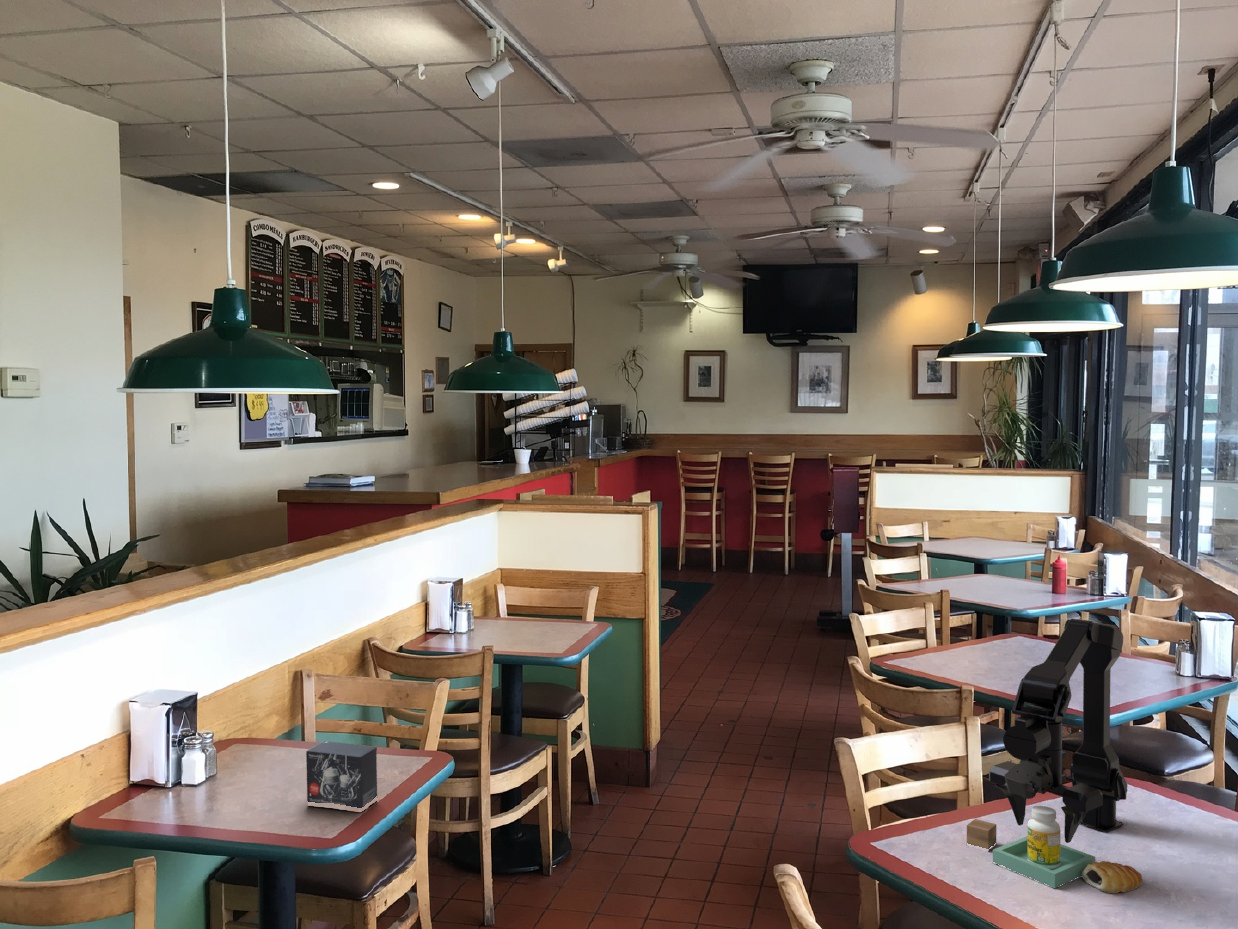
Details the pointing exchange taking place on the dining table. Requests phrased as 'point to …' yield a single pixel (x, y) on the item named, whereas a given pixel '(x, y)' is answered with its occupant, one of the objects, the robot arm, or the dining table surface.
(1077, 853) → the tray
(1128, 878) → the pastry
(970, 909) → the dining table surface
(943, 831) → the dining table surface
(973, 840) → the walnut block
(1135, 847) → the dining table surface
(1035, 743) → the robot arm
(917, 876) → the dining table surface
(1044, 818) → the supplement bottle
